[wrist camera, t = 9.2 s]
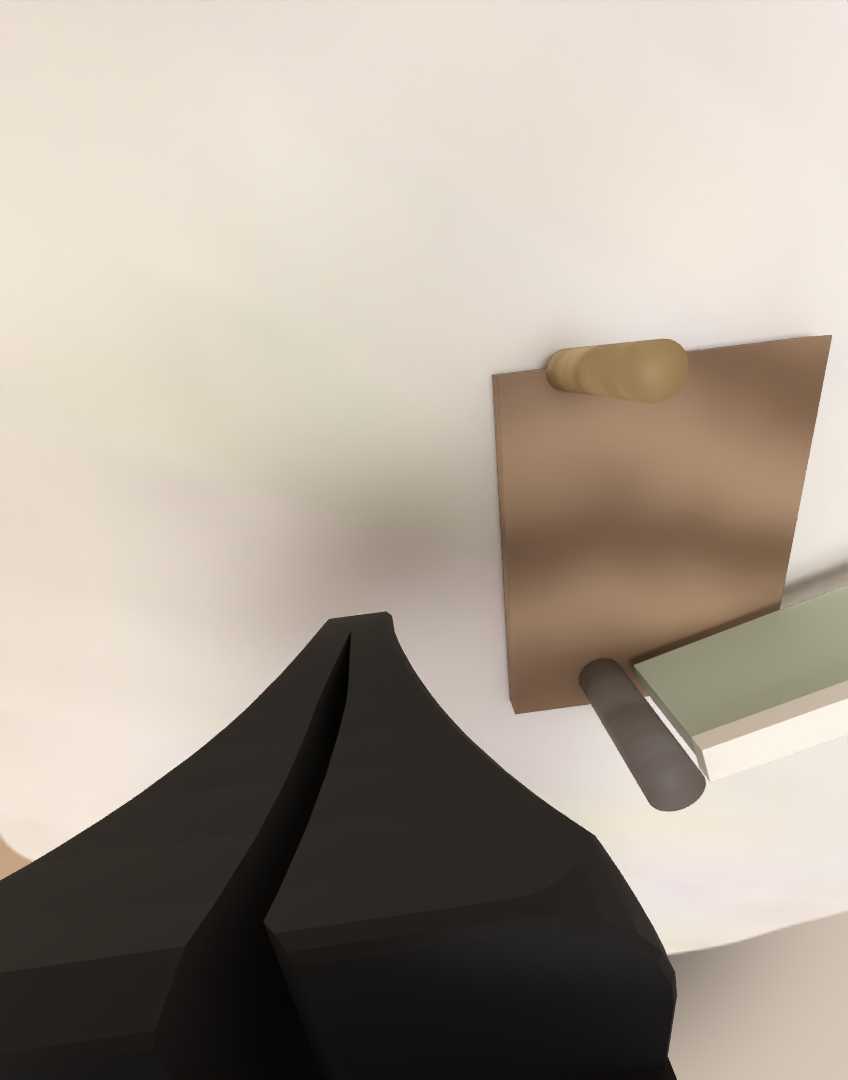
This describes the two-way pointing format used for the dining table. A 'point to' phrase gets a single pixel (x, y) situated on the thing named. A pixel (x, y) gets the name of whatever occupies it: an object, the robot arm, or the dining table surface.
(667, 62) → the dining table surface
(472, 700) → the dining table surface
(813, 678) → the gate leaf
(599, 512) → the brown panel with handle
